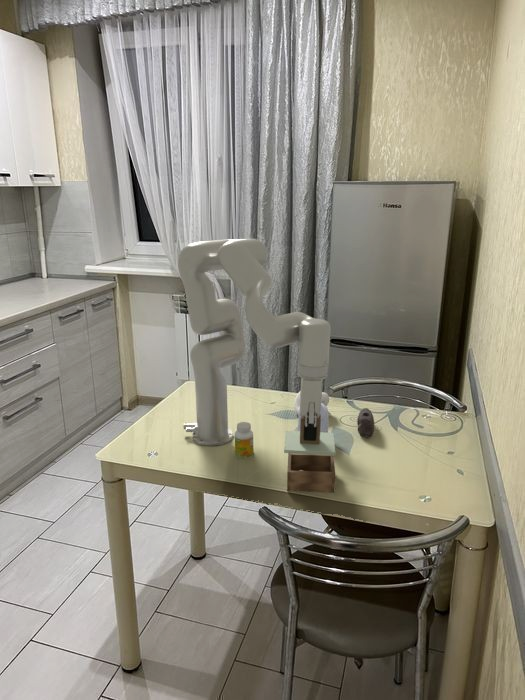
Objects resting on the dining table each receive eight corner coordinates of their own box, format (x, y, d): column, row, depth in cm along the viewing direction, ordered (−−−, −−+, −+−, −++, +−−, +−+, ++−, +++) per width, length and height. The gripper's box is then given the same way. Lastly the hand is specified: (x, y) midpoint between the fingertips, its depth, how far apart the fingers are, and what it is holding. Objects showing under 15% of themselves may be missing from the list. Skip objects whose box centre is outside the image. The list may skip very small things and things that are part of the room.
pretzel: (285, 416, 180) (285, 391, 177) (306, 405, 189) (306, 382, 186) (312, 425, 173) (312, 399, 170) (332, 414, 182) (333, 389, 179)
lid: (284, 452, 131) (285, 424, 129) (285, 433, 141) (286, 406, 139) (335, 455, 131) (337, 426, 128) (332, 435, 141) (334, 408, 138)
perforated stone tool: (357, 420, 176) (358, 401, 174) (373, 421, 176) (374, 402, 174) (356, 440, 162) (357, 419, 160) (373, 442, 161) (375, 421, 159)
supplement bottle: (232, 458, 152) (231, 427, 149) (239, 449, 157) (238, 419, 154) (249, 461, 150) (249, 430, 147) (256, 452, 155) (255, 422, 152)
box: (287, 492, 134) (287, 471, 133) (288, 472, 144) (288, 452, 142) (334, 494, 134) (335, 473, 132) (332, 474, 143) (333, 454, 141)
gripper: (297, 358, 138) (295, 422, 143) (297, 380, 122) (294, 451, 128) (326, 359, 137) (323, 423, 143) (329, 382, 122) (325, 453, 127)
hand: (309, 436), depth 135 cm, fingers closed on lid, 3 cm apart
